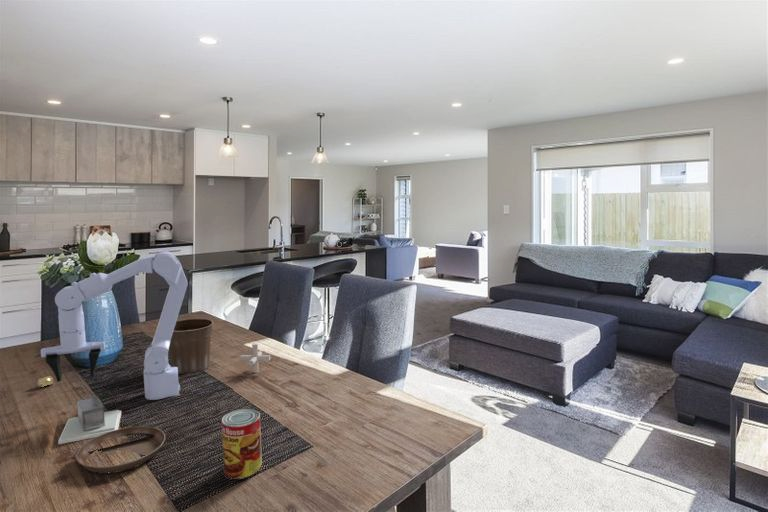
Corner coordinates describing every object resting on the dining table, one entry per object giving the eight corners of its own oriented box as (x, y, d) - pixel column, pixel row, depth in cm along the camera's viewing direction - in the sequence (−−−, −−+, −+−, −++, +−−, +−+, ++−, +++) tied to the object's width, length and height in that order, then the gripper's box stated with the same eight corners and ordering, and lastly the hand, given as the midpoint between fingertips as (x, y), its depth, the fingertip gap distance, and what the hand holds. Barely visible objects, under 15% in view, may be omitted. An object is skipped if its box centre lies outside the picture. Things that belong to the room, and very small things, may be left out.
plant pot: (204, 377, 151) (201, 330, 149) (156, 377, 151) (153, 330, 149) (222, 360, 167) (220, 318, 165) (179, 360, 167) (177, 318, 165)
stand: (121, 417, 122) (121, 408, 122) (117, 437, 111) (116, 427, 111) (68, 426, 117) (67, 417, 116) (58, 449, 106) (57, 439, 106)
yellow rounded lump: (49, 374, 145) (38, 377, 142) (54, 379, 144) (43, 382, 141) (47, 381, 146) (36, 384, 143) (52, 386, 145) (42, 390, 142)
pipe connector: (266, 377, 150) (265, 348, 149) (236, 377, 150) (235, 348, 149) (274, 367, 160) (273, 339, 159) (246, 366, 160) (245, 339, 159)
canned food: (216, 471, 97) (214, 418, 95) (247, 455, 103) (245, 405, 102) (238, 485, 92) (235, 429, 91) (269, 467, 98) (267, 415, 97)
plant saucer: (178, 436, 112) (177, 424, 112) (143, 479, 95) (142, 465, 94) (106, 437, 112) (105, 426, 111) (57, 481, 94) (56, 467, 94)
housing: (105, 426, 112) (103, 407, 111) (83, 432, 109) (82, 412, 108) (98, 413, 119) (97, 395, 118) (78, 419, 116) (76, 400, 115)
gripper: (105, 323, 129) (108, 369, 131) (43, 329, 123) (47, 377, 125) (102, 329, 123) (105, 377, 125) (36, 336, 117) (41, 386, 118)
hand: (76, 377), depth 124 cm, fingers open, 7 cm apart
